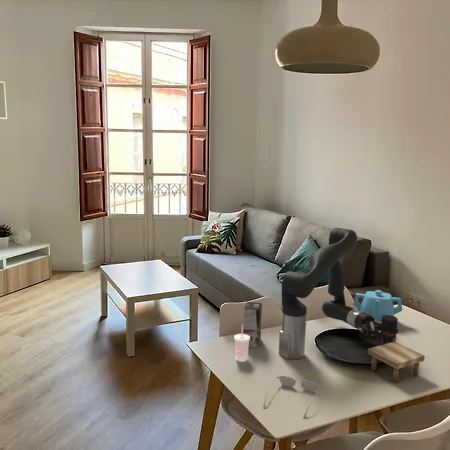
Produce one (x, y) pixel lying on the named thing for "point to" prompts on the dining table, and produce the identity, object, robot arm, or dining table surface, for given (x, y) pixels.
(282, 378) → the eyeglasses
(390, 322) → the deodorant
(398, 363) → the stool
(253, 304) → the coffee box
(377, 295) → the teapot
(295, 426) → the dining table surface
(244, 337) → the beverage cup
